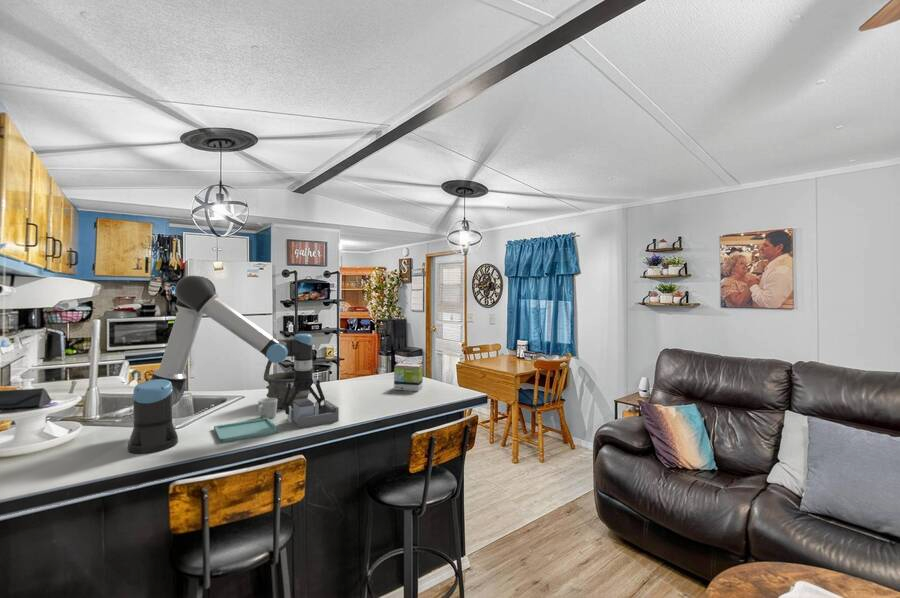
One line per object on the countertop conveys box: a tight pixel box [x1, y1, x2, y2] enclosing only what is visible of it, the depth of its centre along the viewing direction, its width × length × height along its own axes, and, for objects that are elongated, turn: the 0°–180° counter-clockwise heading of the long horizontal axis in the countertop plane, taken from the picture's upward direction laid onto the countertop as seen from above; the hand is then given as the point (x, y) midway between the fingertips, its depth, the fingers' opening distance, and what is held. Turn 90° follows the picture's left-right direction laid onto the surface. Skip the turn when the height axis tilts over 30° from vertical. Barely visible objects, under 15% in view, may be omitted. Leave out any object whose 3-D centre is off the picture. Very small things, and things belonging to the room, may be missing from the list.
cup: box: [256, 397, 278, 419], centre depth 191 cm, size 11×8×8 cm
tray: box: [213, 418, 280, 444], centre depth 173 cm, size 21×19×2 cm
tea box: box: [393, 362, 424, 392], centre depth 250 cm, size 15×10×15 cm, turn 80°
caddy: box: [292, 397, 315, 425], centre depth 187 cm, size 6×10×9 cm, turn 35°
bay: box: [291, 399, 340, 429], centre depth 189 cm, size 17×16×6 cm
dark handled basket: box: [263, 360, 315, 409], centre depth 216 cm, size 22×23×30 cm
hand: (303, 419), depth 187 cm, fingers open, 11 cm apart
